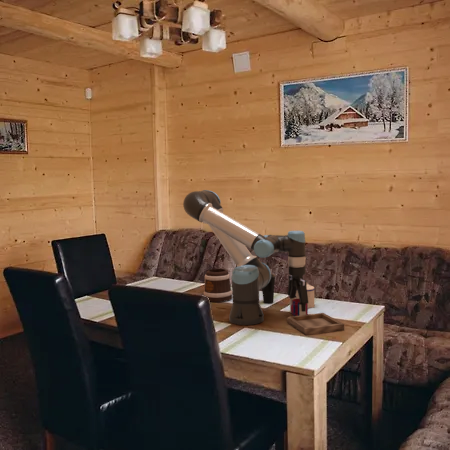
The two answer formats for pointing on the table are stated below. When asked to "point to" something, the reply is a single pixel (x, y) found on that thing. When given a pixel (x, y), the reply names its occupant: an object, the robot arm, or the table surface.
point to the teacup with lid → (310, 295)
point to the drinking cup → (269, 290)
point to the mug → (217, 285)
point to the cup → (297, 307)
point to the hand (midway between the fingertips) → (297, 315)
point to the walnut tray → (315, 323)
